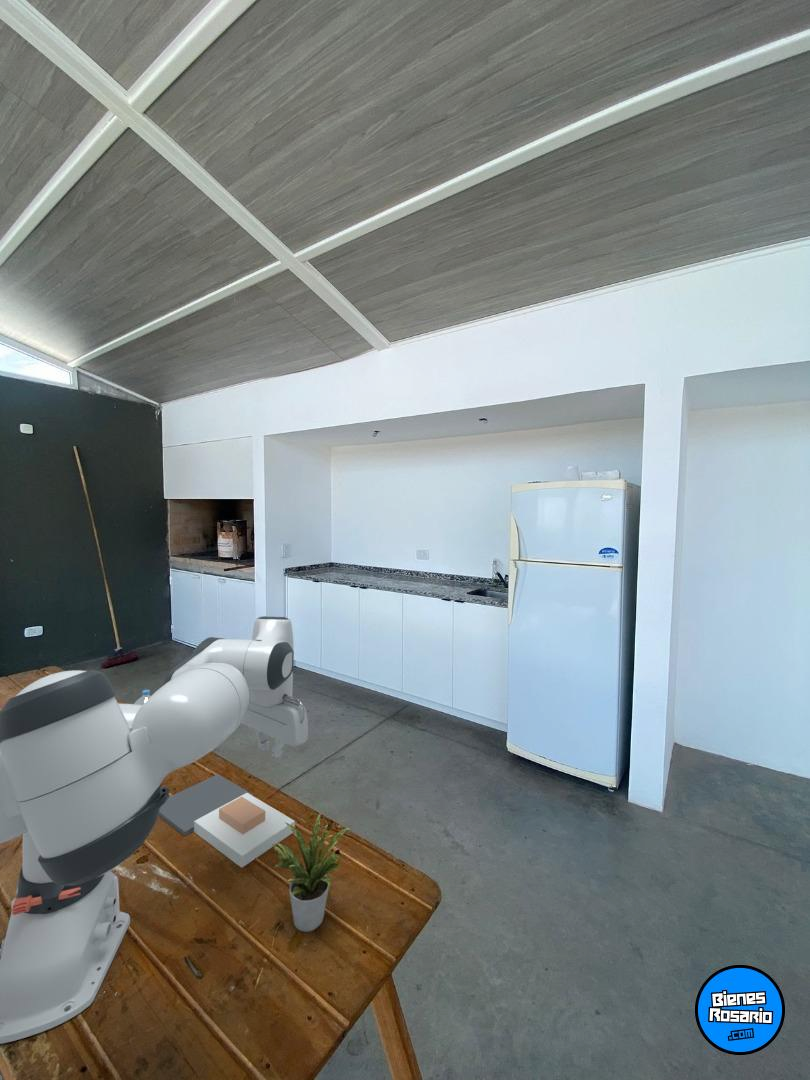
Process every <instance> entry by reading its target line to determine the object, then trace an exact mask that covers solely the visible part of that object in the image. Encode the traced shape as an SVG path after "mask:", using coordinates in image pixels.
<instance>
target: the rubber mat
mask: <svg viewBox="0 0 810 1080" xmlns="http://www.w3.org/2000/svg"><path fill="white" fill-rule="evenodd" d="M245 793H248V794H250V795H252V796H253V797H254V793H251V792H249V791H247V790H246V789H244V788H243V787H241V786H239V785H238V784H236V783H234V781H233V782H232V781H231V780H229V779H227V778H225V777H224V776H222V775H220V774H219V773H217V774H215V775H213V776H211V777H209V778H206V779H204V780H202V781H201V782H198V783H196V784H194V785H192V786H190V787H187V788H186V789H183V790H181V791H179V792H177V793H175V794H173V795H171V796H170V795H169V797H168V799H167V801H166V802H165V803H164V804H163V805H162V806H161V807H160V811H159V815H158V817H160V818H161V819H162V820H163V821H165V822H166V823H167V824H168V825H170V826H171V827H173V829H175V831H178V832H179V833H180V834H181V835H183V836H184V837H186V836H188V835H190V834H191V832H192V833H194V821H195V820H197V819H199V818H201V817H203V816H204V815H206V814H208V813H210V812H212V811H214V810H216V809H217V808H219V807H221V806H223V805H225V804H227V803H229V802H231V801H232V800H234V799H236V798H238V797H240V796H242V795H244V794H245Z"/></svg>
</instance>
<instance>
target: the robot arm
mask: <svg viewBox="0 0 810 1080" xmlns="http://www.w3.org/2000/svg"><path fill="white" fill-rule="evenodd" d="M252 629H253V630H252V636H251V639H237V638H236V639H234V638H230V639H229V638H222V637H214V636H210V637H206V638H205V639H203V640H202V641H201V642H199V644H198V645H197V646H196V647H195V648H194V650H193V652H192V654H190V655H189V656H187V657H186V658H185V659H184V660H182V661H181V662H180V663H178V664H177V665H176V666H174V667H173V668H172V669H171V670H170V671H169V673H168V674H167V675H166V677H165V679H164V682H163V685H162V686H161V687H159V688H158V689H157V690H156V691H155V692H154V693H153V694H152V695H150V696H151V697H150V698H149V699H148V700H147V701H146V702H145V703H144V704H143V705H136V704H134V703H118V700H117V699H116V695H118V694H117V690H115V688H114V686H113V684H112V682H111V681H110V680H109V678H108V677H107V676H106V674H105V673H104V672H101V671H98V670H94V669H89V670H80V669H78V670H75V669H73V670H65V671H64V670H63V671H60V672H55V673H52V674H49V675H47V676H44V677H42V678H39V679H37V680H36V681H33V682H32V683H30V684H29V685H26V687H24V688H23V689H22V690H20V691H19V692H18V693H17V694H16V695H14V696H13V697H9V698H8V700H7V701H6V702H5V704H4V706H3V707H2V709H1V710H0V844H2V843H6V842H9V841H11V840H13V839H16V838H18V837H20V836H22V865H21V866H22V867H21V869H20V871H19V875H18V880H17V882H16V883H17V884H16V896H15V897H14V899H13V900H11V912H10V917H9V921H8V924H7V925H8V926H7V930H6V932H5V938H4V939H2V940H1V942H0V1044H7V1043H10V1042H14V1041H17V1040H21V1039H25V1038H27V1037H32V1036H34V1035H38V1034H40V1033H44V1032H46V1031H48V1030H50V1029H53V1028H56V1027H58V1026H60V1025H61V1024H63V1023H66V1022H67V1021H69V1020H71V1019H72V1018H74V1017H76V1016H78V1015H79V1014H80V1013H82V1012H83V1011H84V1010H86V1009H87V1008H88V1007H90V1006H91V1005H92V1003H93V1002H94V1000H95V999H96V996H97V994H98V992H99V990H100V987H101V986H102V983H103V981H104V979H105V978H106V975H107V973H108V971H109V968H110V966H111V964H112V962H113V961H114V958H115V956H116V954H117V951H118V949H119V947H120V946H121V943H122V941H123V939H124V937H125V934H126V933H127V931H128V928H129V926H130V924H131V916H130V915H129V913H127V912H124V911H120V895H119V893H120V891H119V889H120V888H119V877H118V876H117V875H116V874H114V873H113V872H112V870H114V869H116V868H117V867H119V866H120V865H121V864H122V863H123V862H124V861H126V860H127V859H128V858H130V857H131V856H132V855H133V854H134V853H135V852H136V851H138V850H139V849H140V848H141V847H142V846H143V845H144V843H145V842H146V840H147V838H148V837H149V835H150V834H151V832H152V830H153V828H154V827H155V825H156V822H157V821H158V818H159V816H158V815H159V811H160V807H161V806H162V805H163V804H164V803H165V802H166V801H167V799H168V797H170V788H169V787H167V786H162V785H163V783H162V782H163V780H164V779H165V777H167V776H168V775H170V773H172V772H174V771H176V770H179V769H181V768H184V767H186V766H188V765H190V764H192V763H194V762H196V761H198V760H200V759H201V758H203V757H205V756H207V754H210V753H211V752H212V751H214V749H216V748H218V746H220V745H221V744H222V743H223V742H224V741H226V740H227V738H228V737H229V736H231V735H232V733H234V732H235V731H236V730H237V729H238V727H239V726H240V725H241V724H242V725H245V726H246V727H249V728H251V729H253V730H254V734H255V737H256V740H257V742H258V745H257V747H258V750H260V751H261V752H266V751H268V750H269V749H270V741H269V740H268V737H270V738H273V739H274V743H275V746H274V747H271V749H270V751H271V756H272V757H273V758H277V759H278V758H279V757H282V755H283V748H284V746H285V745H289V746H291V747H293V748H294V747H298V746H300V745H302V744H304V743H305V742H306V741H307V740H308V738H309V726H308V725H309V724H308V716H307V715H308V714H307V710H306V707H305V706H304V704H303V703H302V701H301V699H299V698H298V697H297V698H296V697H293V688H294V687H293V685H294V684H293V682H294V681H293V680H294V673H293V670H294V660H295V658H294V657H295V656H294V653H295V652H294V632H293V625H292V621H291V619H290V618H288V617H286V616H266V615H265V616H264V615H263V616H259V617H257V618H255V620H254V624H253V628H252ZM267 736H268V737H267Z"/></svg>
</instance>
